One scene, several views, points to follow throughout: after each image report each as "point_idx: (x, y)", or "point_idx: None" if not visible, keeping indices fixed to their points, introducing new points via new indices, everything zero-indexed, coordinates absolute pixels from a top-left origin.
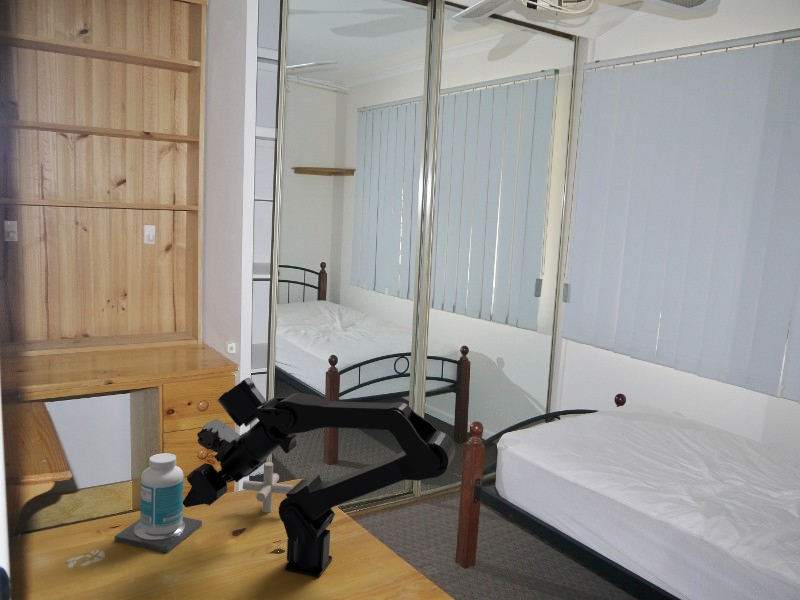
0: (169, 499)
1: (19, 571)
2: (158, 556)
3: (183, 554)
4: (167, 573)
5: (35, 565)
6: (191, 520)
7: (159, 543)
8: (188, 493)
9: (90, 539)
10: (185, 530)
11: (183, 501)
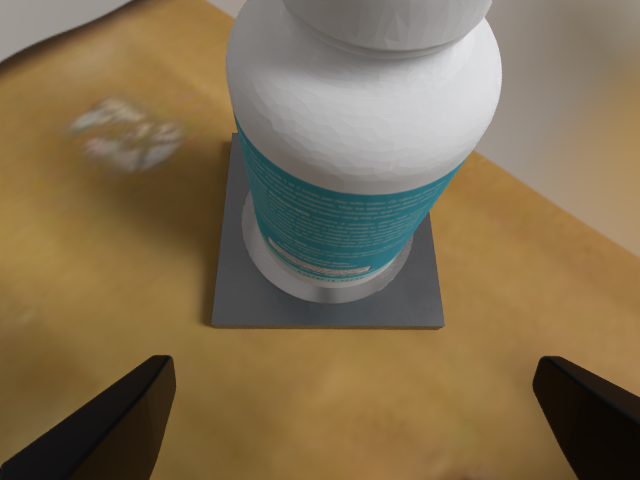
0: (284, 213)
1: (36, 44)
2: (186, 311)
3: (223, 388)
4: None
5: (69, 56)
6: (425, 288)
7: (230, 279)
8: (16, 457)
9: (226, 89)
10: (351, 310)
11: (141, 366)
